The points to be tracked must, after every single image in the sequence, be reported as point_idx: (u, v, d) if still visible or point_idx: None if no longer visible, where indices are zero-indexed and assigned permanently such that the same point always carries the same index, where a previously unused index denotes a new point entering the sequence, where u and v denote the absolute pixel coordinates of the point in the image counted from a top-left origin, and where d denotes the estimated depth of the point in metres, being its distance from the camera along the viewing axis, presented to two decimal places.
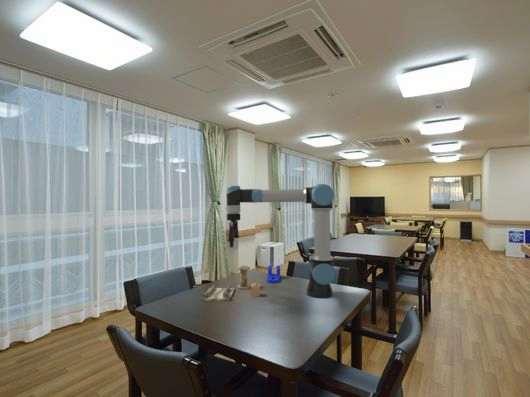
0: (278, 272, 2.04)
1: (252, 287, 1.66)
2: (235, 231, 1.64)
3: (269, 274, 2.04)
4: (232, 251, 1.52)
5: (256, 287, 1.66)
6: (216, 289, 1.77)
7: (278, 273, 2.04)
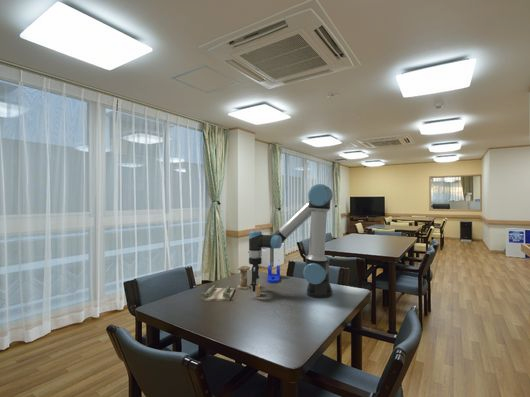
0: (278, 272, 2.04)
1: None
2: (256, 273, 1.73)
3: (269, 274, 2.04)
4: (254, 295, 1.62)
5: None
6: (216, 289, 1.77)
7: (278, 273, 2.04)
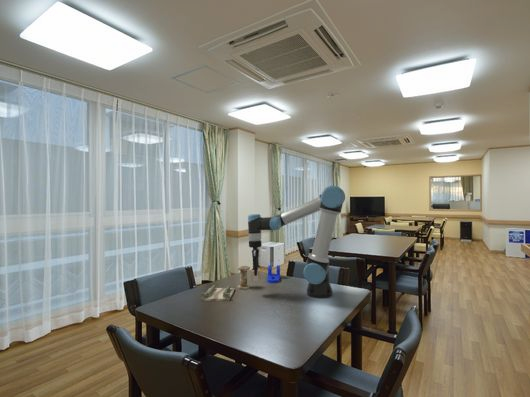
0: (278, 272, 2.04)
1: (252, 272, 1.66)
2: (256, 258, 1.71)
3: (269, 274, 2.05)
4: (256, 279, 1.65)
5: None
6: (216, 289, 1.77)
7: (278, 273, 2.04)
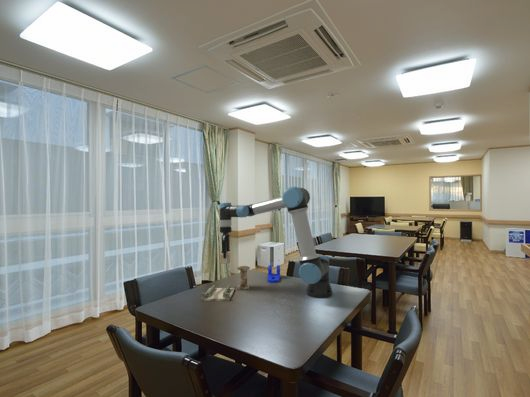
0: (278, 272, 2.04)
1: (222, 255, 1.82)
2: (226, 243, 1.86)
3: (269, 274, 2.05)
4: (225, 261, 1.81)
5: None
6: (216, 289, 1.77)
7: (278, 273, 2.04)
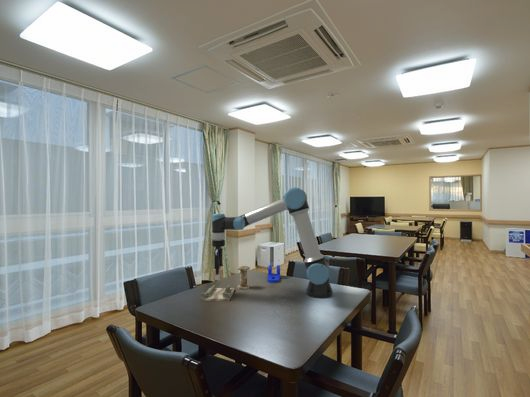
0: (278, 272, 2.05)
1: (214, 270, 1.68)
2: (219, 258, 1.72)
3: (269, 274, 2.05)
4: (218, 278, 1.67)
5: None
6: (216, 289, 1.77)
7: (278, 273, 2.05)
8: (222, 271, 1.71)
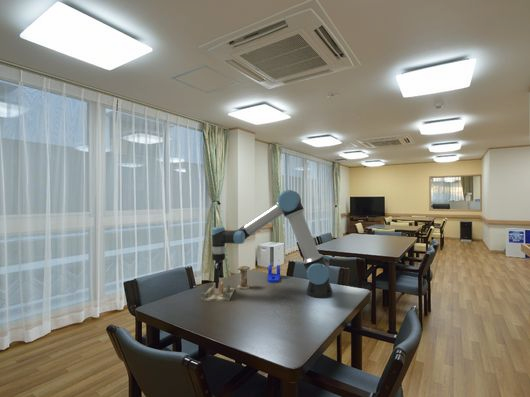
0: (278, 272, 2.05)
1: (214, 285, 1.67)
2: (220, 270, 1.73)
3: (269, 274, 2.05)
4: (217, 291, 1.65)
5: None
6: None
7: (278, 273, 2.05)
8: (222, 285, 1.70)
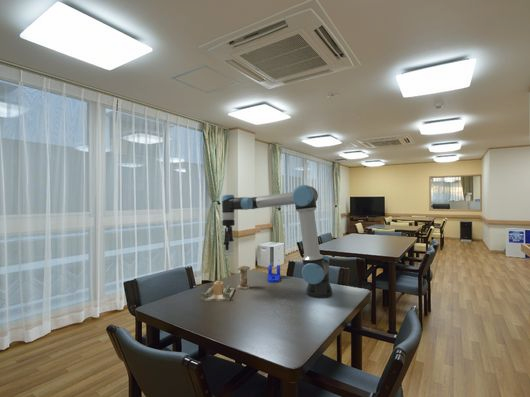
0: (278, 272, 2.05)
1: (214, 285, 1.67)
2: (230, 235, 1.82)
3: (269, 274, 2.06)
4: (227, 253, 1.70)
5: (218, 285, 1.67)
6: None
7: (278, 273, 2.05)
8: (222, 285, 1.70)
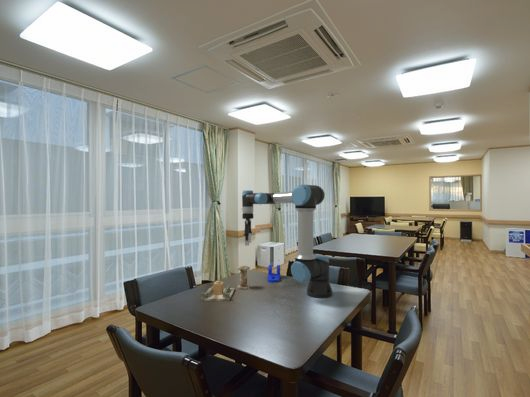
0: (278, 272, 2.05)
1: (214, 285, 1.67)
2: (249, 228, 1.99)
3: (269, 273, 2.06)
4: (247, 244, 1.87)
5: (218, 285, 1.67)
6: None
7: (278, 272, 2.05)
8: (222, 285, 1.70)
